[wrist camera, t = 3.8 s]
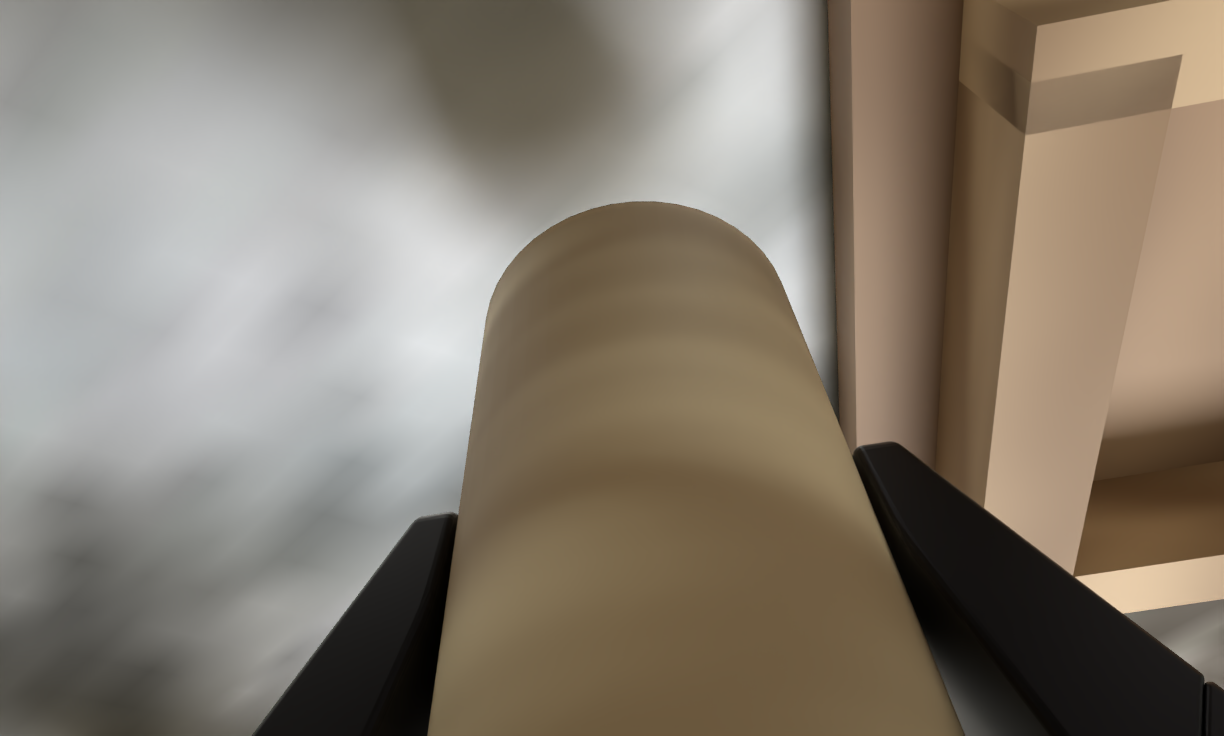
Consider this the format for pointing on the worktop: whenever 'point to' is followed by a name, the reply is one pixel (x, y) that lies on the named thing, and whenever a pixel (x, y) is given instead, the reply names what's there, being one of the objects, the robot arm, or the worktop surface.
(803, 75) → the worktop surface
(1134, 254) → the cradle
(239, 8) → the worktop surface
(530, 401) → the peg
